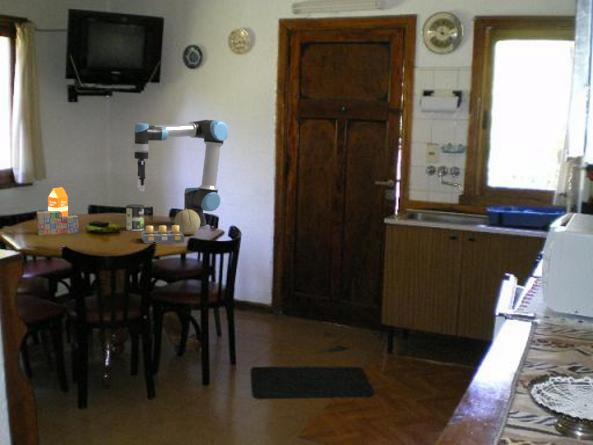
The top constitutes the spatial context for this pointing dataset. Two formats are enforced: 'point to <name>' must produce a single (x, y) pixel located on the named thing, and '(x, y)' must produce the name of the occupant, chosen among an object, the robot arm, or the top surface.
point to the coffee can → (134, 217)
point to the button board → (162, 237)
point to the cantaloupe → (187, 221)
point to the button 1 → (149, 229)
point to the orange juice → (58, 201)
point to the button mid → (162, 229)
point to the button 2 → (175, 229)
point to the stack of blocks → (56, 223)
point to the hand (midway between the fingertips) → (141, 189)
